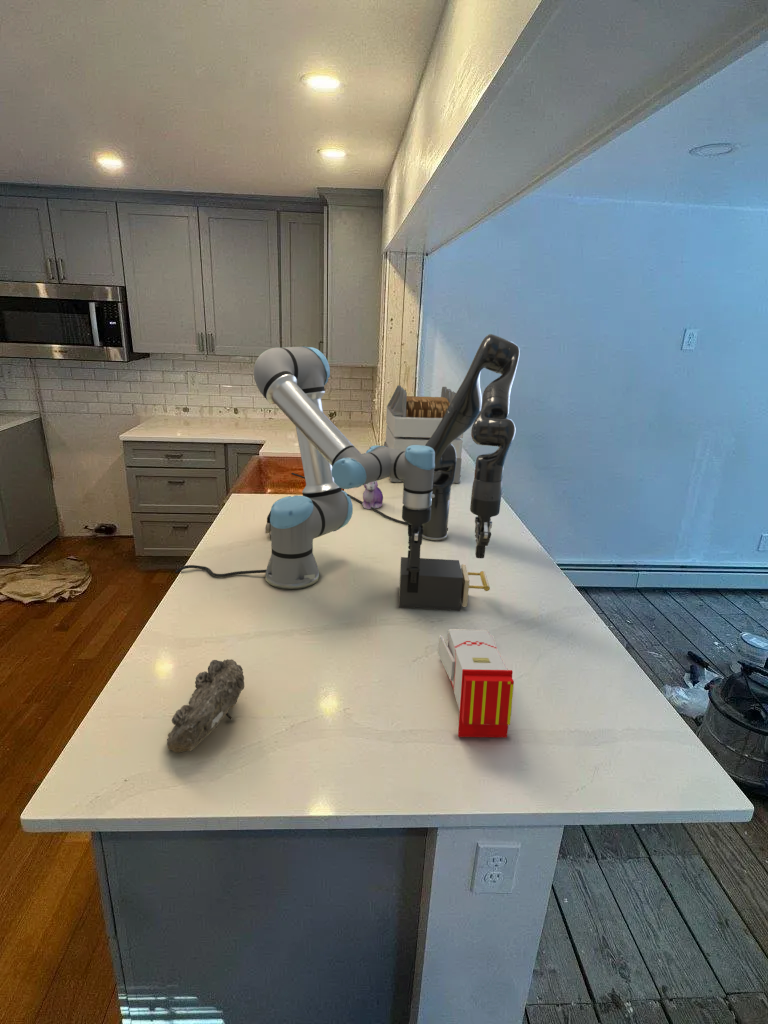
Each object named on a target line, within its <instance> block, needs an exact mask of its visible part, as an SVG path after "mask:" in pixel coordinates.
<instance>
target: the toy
mask: <svg viewBox="0 0 768 1024" xmlns="http://www.w3.org/2000/svg"><path fill="white" fill-rule="evenodd" d="M446 640H447V643H446V641H445V639H444V636H443V635H442V634H439V637H438V646H437V656H438V657H439V659H440V661H441V663H442V666H443V668H444V670H445V672H446V674H447V677H448V679H449V681H450V684H451V687H452V690H453V693H454V697H455V701H456V705H457V708H458V711H459V714H458V715H459V716H458V730H457V731H458V732H457V737H458V738H508V731H509V726H510V725H511V717H512V707H513V697H514V696H513V695H514V684H515V680H514V679H513V673H514V671H513V670H512V669H508V667H507V665H506V662H505V661H504V659H503V658H502V655H501V653H500V651H499V649H498V647H497V643H496V639H495V637H494V635H493V634H491V632H490V631H489V629H467V628H466V629H465V628H463V629H461V628H460V629H459V628H448V630H447V639H446Z"/></svg>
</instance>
